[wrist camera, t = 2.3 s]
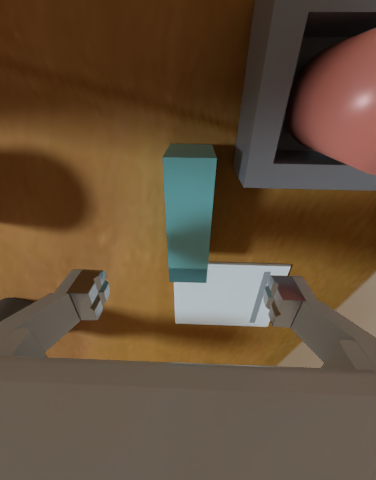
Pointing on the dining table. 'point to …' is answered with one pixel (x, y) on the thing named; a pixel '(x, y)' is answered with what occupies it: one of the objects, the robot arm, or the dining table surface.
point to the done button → (338, 103)
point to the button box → (278, 89)
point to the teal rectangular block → (189, 209)
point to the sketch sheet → (227, 295)
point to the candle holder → (11, 306)
